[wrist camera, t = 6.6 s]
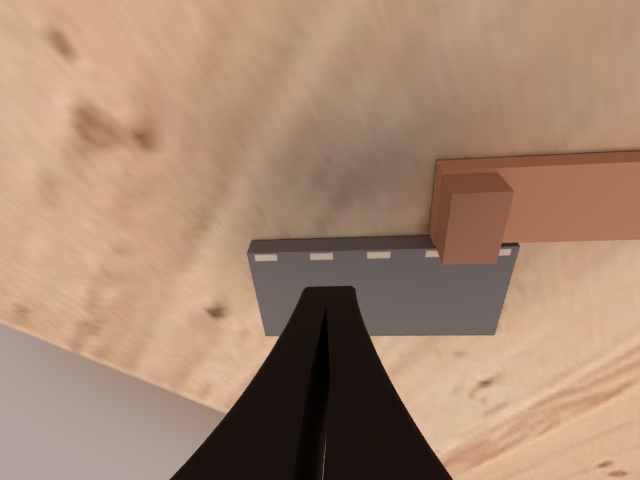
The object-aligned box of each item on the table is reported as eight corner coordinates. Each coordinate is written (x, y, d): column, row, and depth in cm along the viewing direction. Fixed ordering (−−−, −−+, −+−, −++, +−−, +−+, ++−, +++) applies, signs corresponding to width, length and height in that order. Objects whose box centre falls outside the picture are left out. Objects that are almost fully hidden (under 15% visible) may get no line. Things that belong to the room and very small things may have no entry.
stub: (665, 149, 16) (727, 178, 14) (629, 226, 18) (676, 263, 16) (436, 160, 17) (453, 189, 14) (428, 232, 19) (441, 268, 17)
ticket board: (510, 233, 19) (520, 247, 18) (487, 320, 23) (494, 336, 22) (251, 240, 20) (246, 253, 19) (269, 322, 24) (265, 337, 23)
